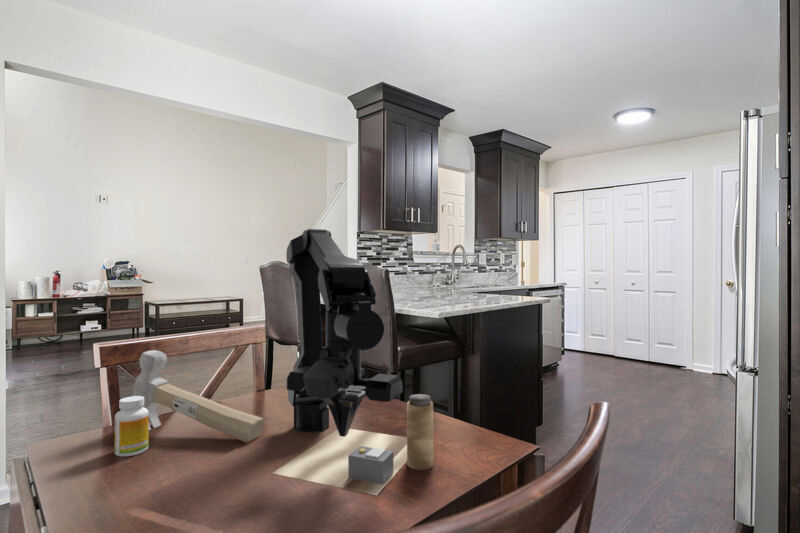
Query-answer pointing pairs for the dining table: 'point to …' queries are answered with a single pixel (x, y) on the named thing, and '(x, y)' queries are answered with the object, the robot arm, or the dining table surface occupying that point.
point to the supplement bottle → (131, 427)
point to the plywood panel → (343, 460)
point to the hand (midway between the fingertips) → (343, 435)
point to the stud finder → (370, 464)
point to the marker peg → (420, 432)
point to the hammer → (189, 402)
